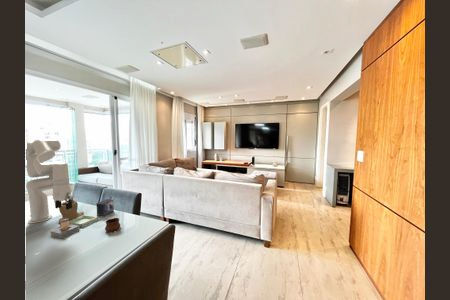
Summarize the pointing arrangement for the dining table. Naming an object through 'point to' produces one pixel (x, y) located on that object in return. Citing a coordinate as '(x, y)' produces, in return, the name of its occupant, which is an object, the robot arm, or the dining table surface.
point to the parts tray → (83, 220)
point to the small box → (105, 207)
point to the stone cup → (70, 211)
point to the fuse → (64, 224)
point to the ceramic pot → (112, 225)
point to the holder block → (65, 233)
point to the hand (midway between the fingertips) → (63, 208)
